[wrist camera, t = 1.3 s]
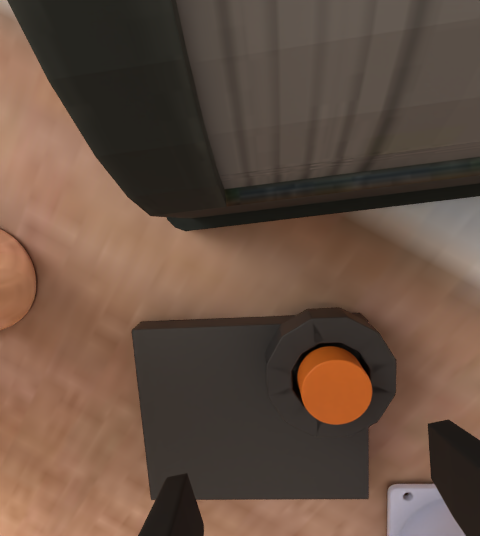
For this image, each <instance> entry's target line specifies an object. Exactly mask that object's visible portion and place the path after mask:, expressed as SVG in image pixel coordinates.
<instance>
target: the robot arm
mask: <svg viewBox="0 0 480 536" xmlns="http://www.w3.org/2000/svg"><path fill="white" fill-rule="evenodd" d="M428 435H429V451H430V466H431V479H432V480H433V482H434V484H393V485H391V486H390V487H389V488H388V491H387V536H480V440H478V439H477V438H475V437H474V436H472V435H471V434H469V433H468V432H466V431H465V430H463V429H462V428H460V427H459V426H457V425H456V424H454V423H453V422H451V421H450V420H444V421H439V422H435V423H430V424H428ZM405 493H409V494H407V495H404V494H405ZM138 536H204V524H203V521H202V517H201V514H200V511H199V508H198V505H197V502H196V499H195V496H194V493H193V489H192V486H191V483H190V480H189V477H188V474H187V473H185V474H180V475H175V476H170V477H167V478H166V480H165V481H164V483H163V485H162V487H161V490H160V492H159V494H158V496H157V498H156V500H155V502H154V505H153V507H152V509H151V511H150V513H149V515H148V517H147V519H146V521H145V523H144V525H143V527H142V529H141V531H140V533H139V535H138Z"/></svg>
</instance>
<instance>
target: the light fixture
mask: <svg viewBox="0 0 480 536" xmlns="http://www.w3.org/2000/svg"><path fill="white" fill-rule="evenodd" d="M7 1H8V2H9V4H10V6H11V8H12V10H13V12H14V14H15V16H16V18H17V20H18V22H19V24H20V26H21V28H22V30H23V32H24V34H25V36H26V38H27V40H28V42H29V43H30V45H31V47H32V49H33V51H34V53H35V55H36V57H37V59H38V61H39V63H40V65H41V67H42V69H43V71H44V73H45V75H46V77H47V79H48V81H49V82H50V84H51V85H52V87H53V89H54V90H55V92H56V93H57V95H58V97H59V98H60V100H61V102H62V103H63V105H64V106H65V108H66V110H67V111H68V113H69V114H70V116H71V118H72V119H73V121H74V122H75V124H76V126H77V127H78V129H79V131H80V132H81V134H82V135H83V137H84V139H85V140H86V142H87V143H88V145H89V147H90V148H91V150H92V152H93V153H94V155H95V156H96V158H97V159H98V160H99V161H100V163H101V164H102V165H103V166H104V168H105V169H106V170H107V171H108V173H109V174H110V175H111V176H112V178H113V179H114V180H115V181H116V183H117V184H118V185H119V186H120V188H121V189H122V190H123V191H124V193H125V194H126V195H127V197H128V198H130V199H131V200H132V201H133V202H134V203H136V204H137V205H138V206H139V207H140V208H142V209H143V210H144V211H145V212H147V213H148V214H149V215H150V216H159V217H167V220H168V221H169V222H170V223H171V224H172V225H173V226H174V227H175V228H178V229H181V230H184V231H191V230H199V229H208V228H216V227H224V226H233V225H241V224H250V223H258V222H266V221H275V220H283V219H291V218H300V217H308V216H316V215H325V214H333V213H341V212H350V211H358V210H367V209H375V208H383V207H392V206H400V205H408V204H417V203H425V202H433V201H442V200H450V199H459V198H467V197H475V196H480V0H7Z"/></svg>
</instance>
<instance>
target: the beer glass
mask: <svg viewBox="0 0 480 536" xmlns="http://www.w3.org/2000/svg"><path fill="white" fill-rule="evenodd" d="M35 293H36V275H35V270H34V267H33V264H32V262H31V259H30V257H29V255H28V254H27V252H26V251H25V249H24V248H23V247H22V245H21V244H20V243H19V242H18V241H17V240H16V239H15V238H14V237H12V236H11V235H10V234H8V233H7V232H5V231H3V230H1V229H0V330H3V329H6V328H8V327H10V326H12V325H14V324H16V323H17V322H18V321H19V320H21V319H22V318H23V317H24V316H25V315H26V313H27V312H28V311H29V309H30V307H31V305H32V303H33V301H34V298H35Z"/></svg>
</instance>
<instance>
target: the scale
mask: <svg viewBox="0 0 480 536" xmlns="http://www.w3.org/2000/svg"><path fill="white" fill-rule="evenodd" d="M132 339H133V347H134V356H135V365H136V373H137V382H138V391H139V399H140V408H141V417H142V425H143V434H144V443H145V452H146V460H147V469H148V478H149V486H150V495H151V500H156V498H157V496H158V494H159V492H160V490H161V487H162V485H163V483H164V481H165V480H166V478H167V477H170V476H175V475H180V474H185V473H187V474H188V477H189V480H190V483H191V486H192V489H193V493H194V496H195V499H196V500H227V499H368V498H369V458H368V427H369V426H371V425H372V424H374V423H376V422H378V420H379V419H380V418H381V416H382V415H383V413H384V412H385V410H386V408H387V407H388V405H389V404H390V402H391V401H392V399H393V398H394V396H395V393H396V359H395V357H394V356H393V354H392V353H391V351H390V349H389V348H388V346H387V345H386V343H385V341H384V340H383V338H382V337H381V335H380V334H379V333H378V332H377V331H376V330H375V329H374V328H373V327H372V326H371V325H370V324H369V323H368V320H367V319H366V318H365V317H364V316H363V315H362V314H361V313H349V312H347V311H345V310H343V309H341V308H318V309H306V310H304V311H303V312H301V313H299V314H298V315H295V316H271V317H246V318H221V319H196V320H171V321H147V322H140V323H139V324H138V325H137V326H136V327H135V328H133V329H132ZM326 346H334V347H339V348H343V349H345V350H347V351H349V352H350V353H351V354H353V355H354V356H355V357H356V359H357V360H358V362H359V363H360V365H361V366H362V367H363V369H364V370H365V372H366V373H367V375H368V377H369V379H370V381H371V385H372V398H371V402H370V405H369V406H368V408H367V410H366V411H365V412H364V413H363V414H362V415H361V416H360V417H359V418H357V419H356V420H354V421H352V422H349V423H346V424H340V425H333V424H327V423H324V422H321V421H319V420H318V419H316V418H315V417H313V416H312V415H311V414H310V413H309V412H308V411H307V409H306V408H305V406H304V404H303V402H302V398H301V393H300V389H299V384H298V378H297V375H298V369H299V366H300V364H301V362H302V361H303V359H304V358H305V357H306V356H307V355H308V354H309V353H310V352H312V351H314V350H316V349H318V348H321V347H326Z"/></svg>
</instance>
